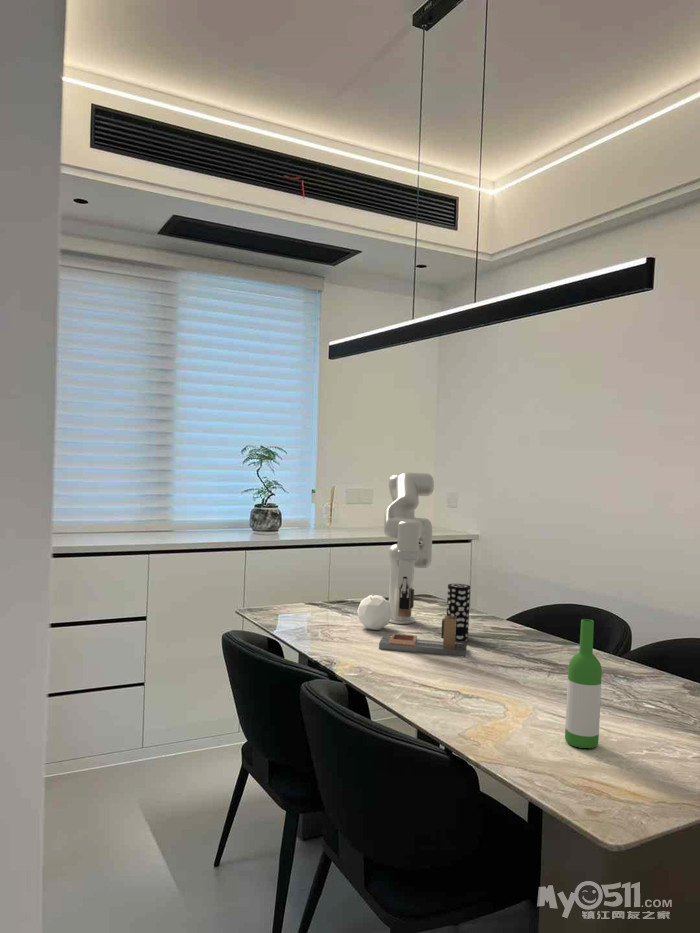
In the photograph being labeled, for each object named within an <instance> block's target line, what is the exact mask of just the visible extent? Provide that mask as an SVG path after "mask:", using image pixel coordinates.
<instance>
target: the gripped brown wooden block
mask: <svg viewBox="0 0 700 933" xmlns="http://www.w3.org/2000/svg"><path fill="white" fill-rule="evenodd" d="M406 589H408V587H406ZM400 597H401V587H400V588H399V610H398V616H402V617H410V615H411V616H412V610H411V608H412V609H413V608H414V604H415V601H414V600H415V589H414V588H411V589H409V609H400Z"/></svg>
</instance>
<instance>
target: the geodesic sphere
mask: <svg viewBox="0 0 700 933" xmlns="http://www.w3.org/2000/svg"><path fill="white" fill-rule="evenodd" d="M356 612H357V615H358V620H359V623H360V624H362V625H363V626H364V627H365V628H366V629H367V630H374V631H379V630H382V629H383V628H385V626H388V625H389V623H390V622H389V621H390V618H391V616H392V611H391V607H390V603H389V600H386V599H385V598H384V596H382V595H377V594H370V595H367V597H365V598H364V599H362V600H360V604H359V605H358V608H357V611H356Z"/></svg>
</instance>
